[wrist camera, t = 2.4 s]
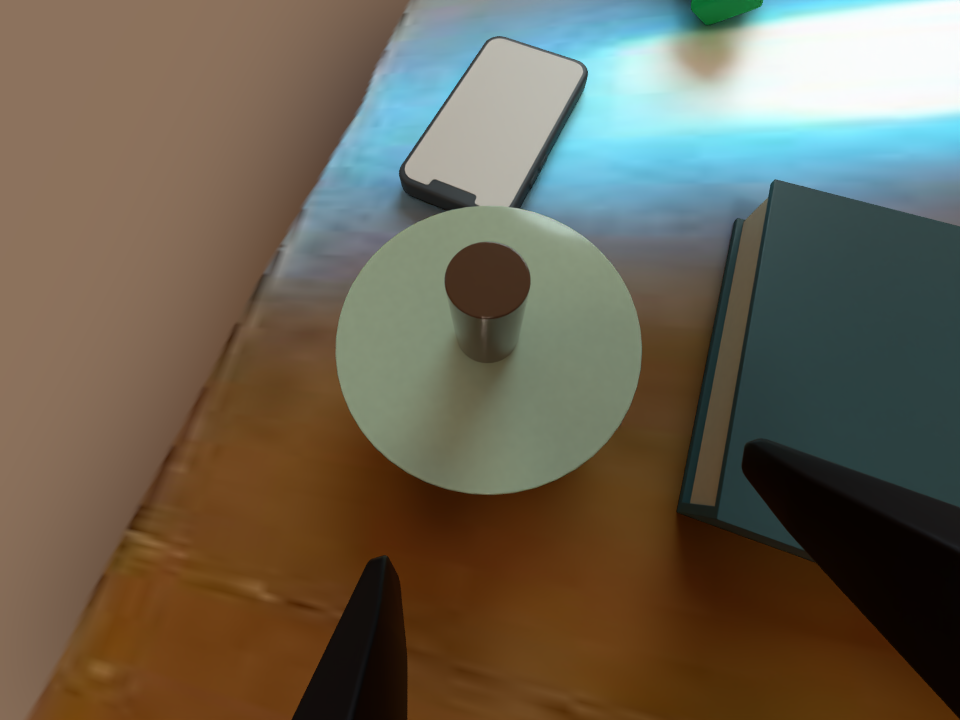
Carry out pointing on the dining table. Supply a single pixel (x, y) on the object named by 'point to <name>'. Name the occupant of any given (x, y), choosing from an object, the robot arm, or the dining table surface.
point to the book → (829, 354)
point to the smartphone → (494, 127)
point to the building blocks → (721, 9)
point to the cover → (488, 350)
